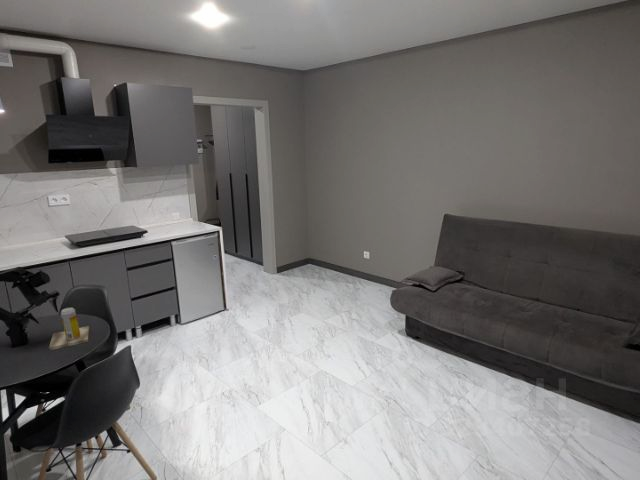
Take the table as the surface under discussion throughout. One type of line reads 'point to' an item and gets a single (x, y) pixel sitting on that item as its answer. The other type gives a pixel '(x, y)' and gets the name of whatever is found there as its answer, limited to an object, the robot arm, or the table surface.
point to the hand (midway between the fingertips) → (48, 318)
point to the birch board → (61, 341)
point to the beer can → (70, 323)
